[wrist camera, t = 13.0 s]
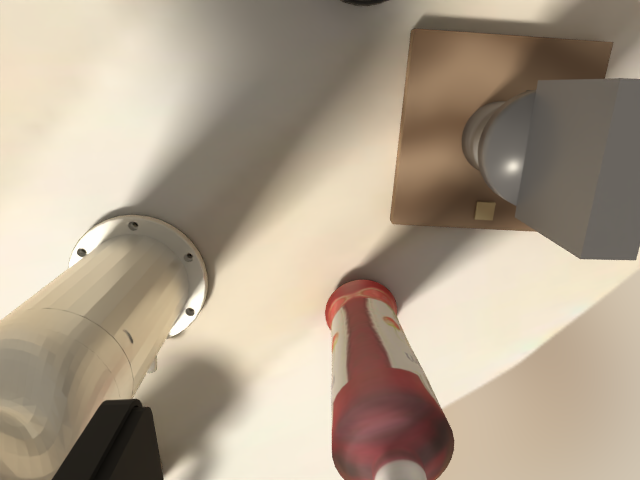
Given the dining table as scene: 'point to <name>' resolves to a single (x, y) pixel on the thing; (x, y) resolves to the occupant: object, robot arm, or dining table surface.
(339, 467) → the red sauce bottle
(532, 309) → the dining table surface
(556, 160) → the lever handle
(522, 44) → the post mount
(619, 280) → the dining table surface
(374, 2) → the french press
